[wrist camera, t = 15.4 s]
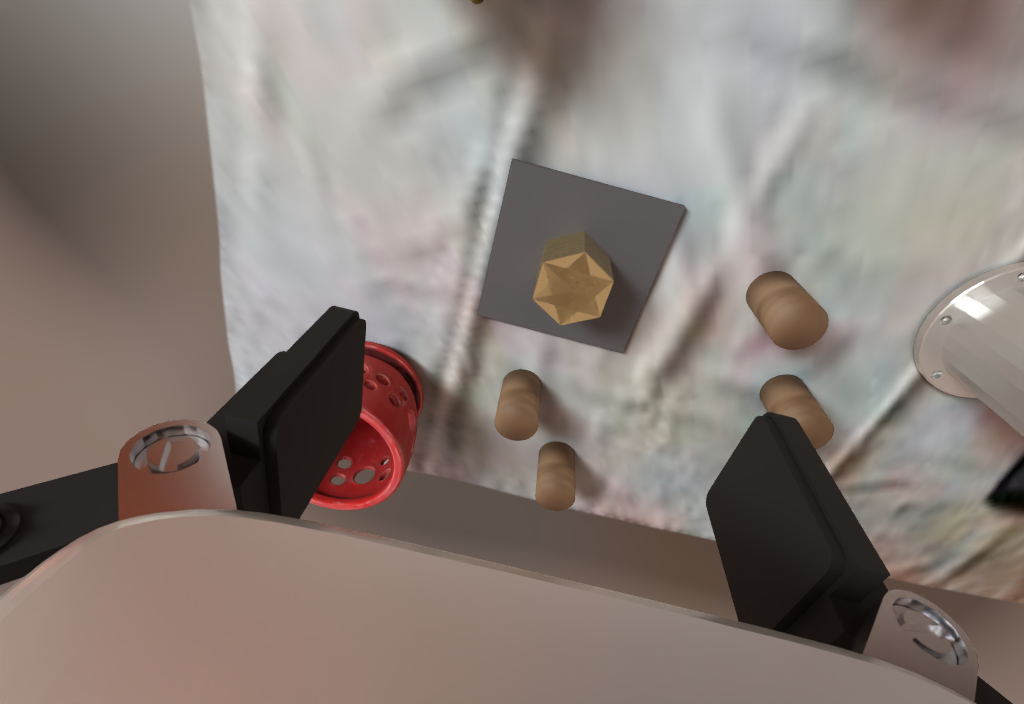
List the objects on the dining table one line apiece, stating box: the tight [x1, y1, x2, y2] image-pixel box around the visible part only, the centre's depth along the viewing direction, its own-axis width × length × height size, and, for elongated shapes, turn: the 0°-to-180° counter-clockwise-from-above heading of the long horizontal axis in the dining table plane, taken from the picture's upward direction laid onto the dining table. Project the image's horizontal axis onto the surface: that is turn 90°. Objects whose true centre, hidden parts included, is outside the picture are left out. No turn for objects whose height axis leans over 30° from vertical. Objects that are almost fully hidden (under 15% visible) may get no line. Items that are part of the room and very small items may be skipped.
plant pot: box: [310, 341, 423, 510], centre depth 46 cm, size 13×13×12 cm
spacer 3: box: [746, 271, 828, 350], centre depth 39 cm, size 4×4×6 cm
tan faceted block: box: [533, 231, 614, 325], centre depth 39 cm, size 6×6×5 cm
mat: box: [477, 159, 685, 353], centre depth 41 cm, size 14×14×1 cm
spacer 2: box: [535, 442, 575, 511], centre depth 51 cm, size 4×4×6 cm
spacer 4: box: [760, 375, 834, 449], centre depth 44 cm, size 4×4×6 cm
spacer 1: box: [494, 369, 542, 441], centre depth 47 cm, size 4×4×6 cm
